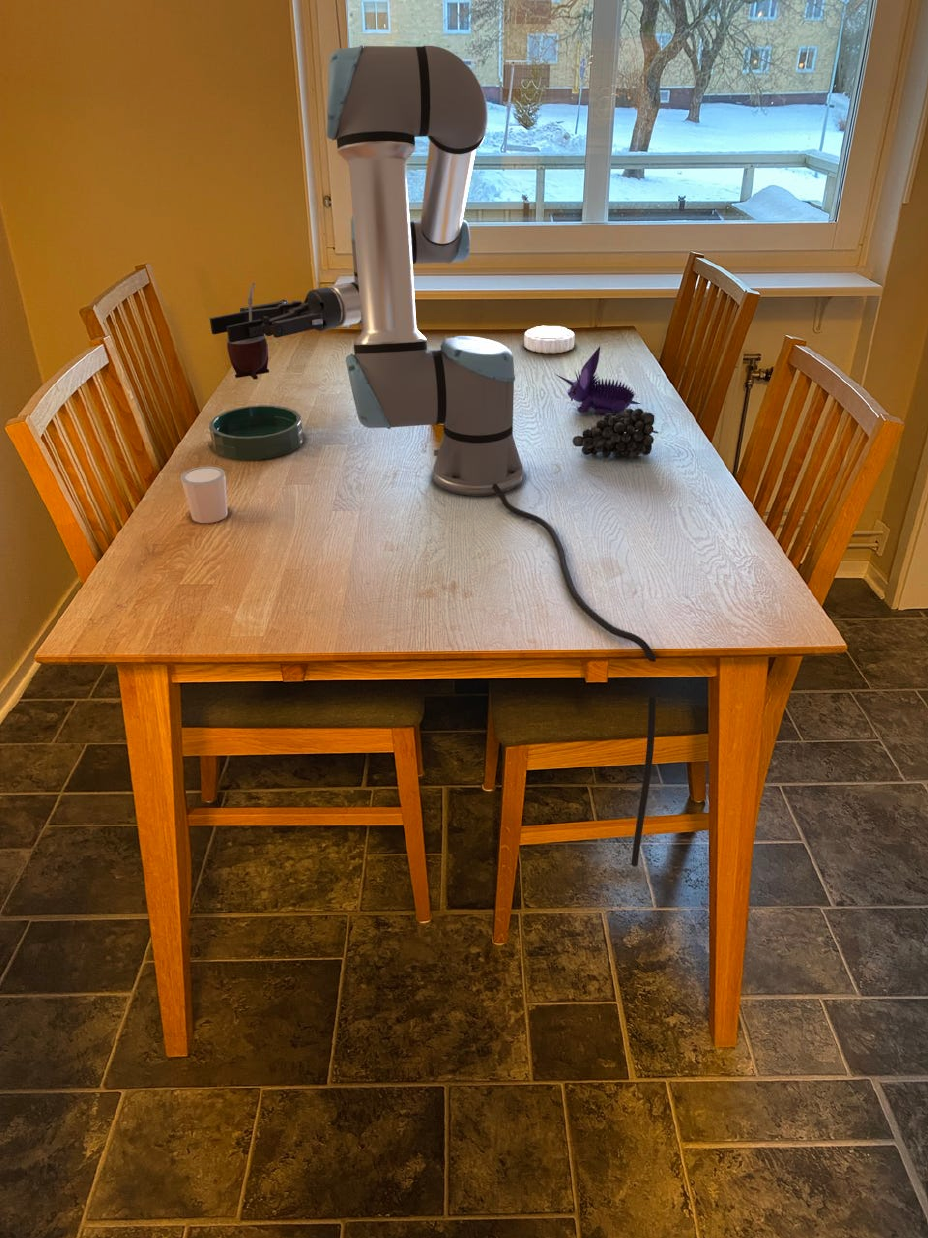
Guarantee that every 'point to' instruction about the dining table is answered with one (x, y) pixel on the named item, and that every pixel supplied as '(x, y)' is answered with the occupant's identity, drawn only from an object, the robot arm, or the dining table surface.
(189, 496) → the white cylinder
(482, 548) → the dining table surface
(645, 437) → the fruit
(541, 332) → the white lid
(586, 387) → the creature
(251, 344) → the mate gourd
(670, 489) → the dining table surface
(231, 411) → the green round tray
